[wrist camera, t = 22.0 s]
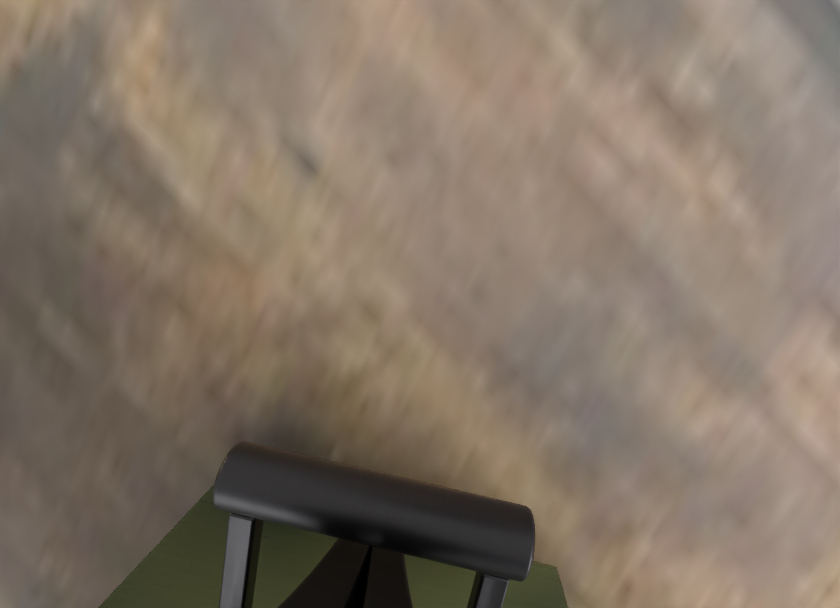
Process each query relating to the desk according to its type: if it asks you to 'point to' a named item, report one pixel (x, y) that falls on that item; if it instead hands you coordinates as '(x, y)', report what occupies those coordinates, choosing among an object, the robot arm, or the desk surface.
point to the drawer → (326, 522)
